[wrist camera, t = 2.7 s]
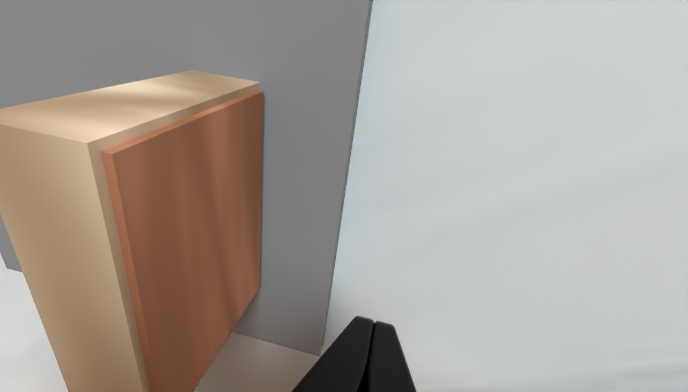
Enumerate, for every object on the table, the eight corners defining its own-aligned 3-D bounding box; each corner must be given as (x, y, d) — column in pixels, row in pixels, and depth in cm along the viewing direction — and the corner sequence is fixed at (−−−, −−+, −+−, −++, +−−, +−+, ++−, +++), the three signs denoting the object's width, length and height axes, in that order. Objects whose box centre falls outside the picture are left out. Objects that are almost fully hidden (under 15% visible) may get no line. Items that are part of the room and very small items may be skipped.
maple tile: (266, 83, 10) (98, 145, 5) (261, 287, 14) (161, 446, 9) (192, 70, 11) (-37, 116, 5) (206, 273, 14) (78, 417, 9)
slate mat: (375, -21, 9) (372, -24, 9) (323, 344, 16) (319, 355, 15) (-113, -85, 11) (-140, -90, 11) (18, 260, 18) (6, 267, 17)
